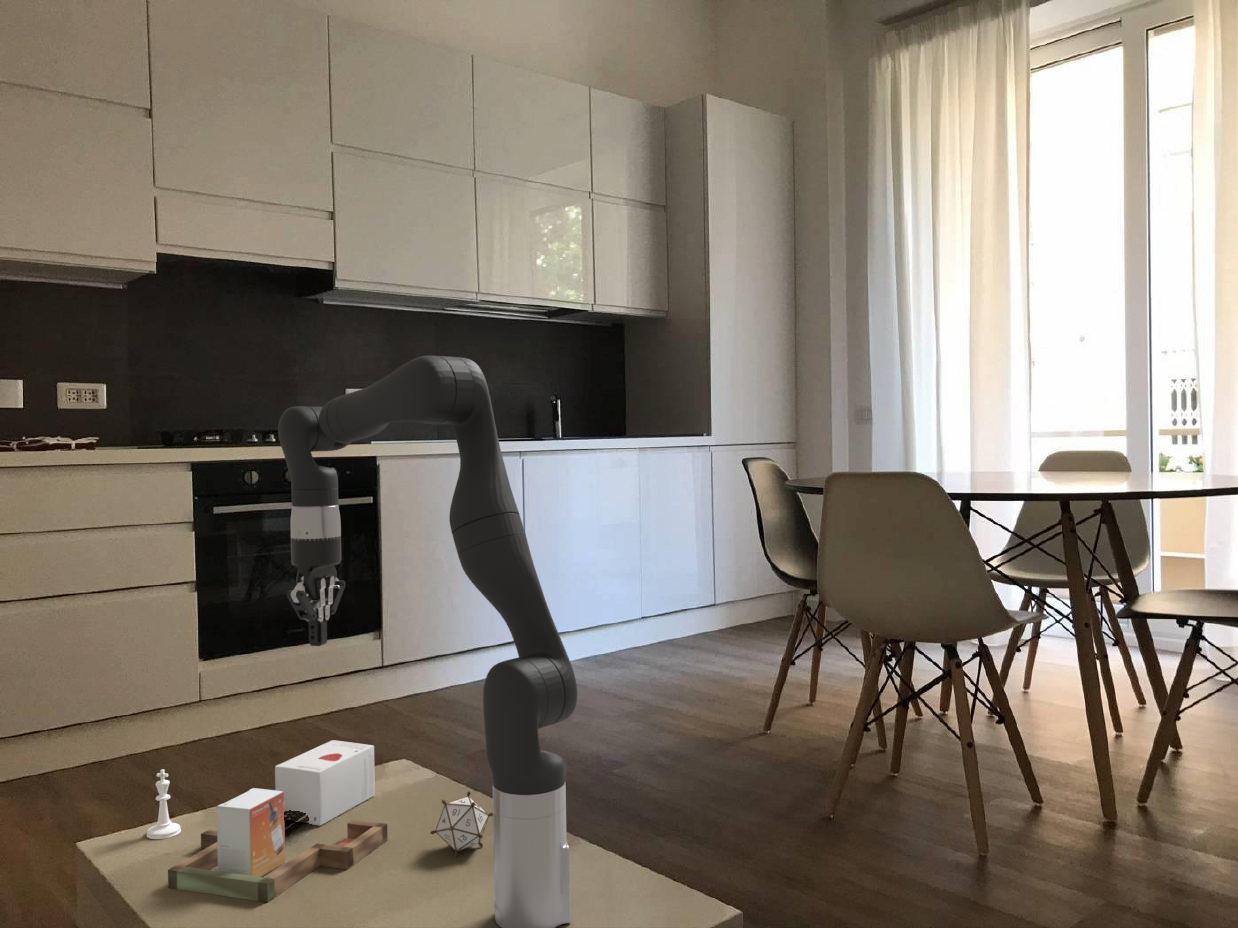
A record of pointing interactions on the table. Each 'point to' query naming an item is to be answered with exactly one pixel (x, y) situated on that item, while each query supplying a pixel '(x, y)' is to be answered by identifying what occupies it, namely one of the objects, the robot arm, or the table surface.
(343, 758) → the supplement box
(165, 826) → the chess piece
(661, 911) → the table surface
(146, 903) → the table surface
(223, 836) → the small box
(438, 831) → the game die
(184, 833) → the table surface
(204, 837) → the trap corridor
